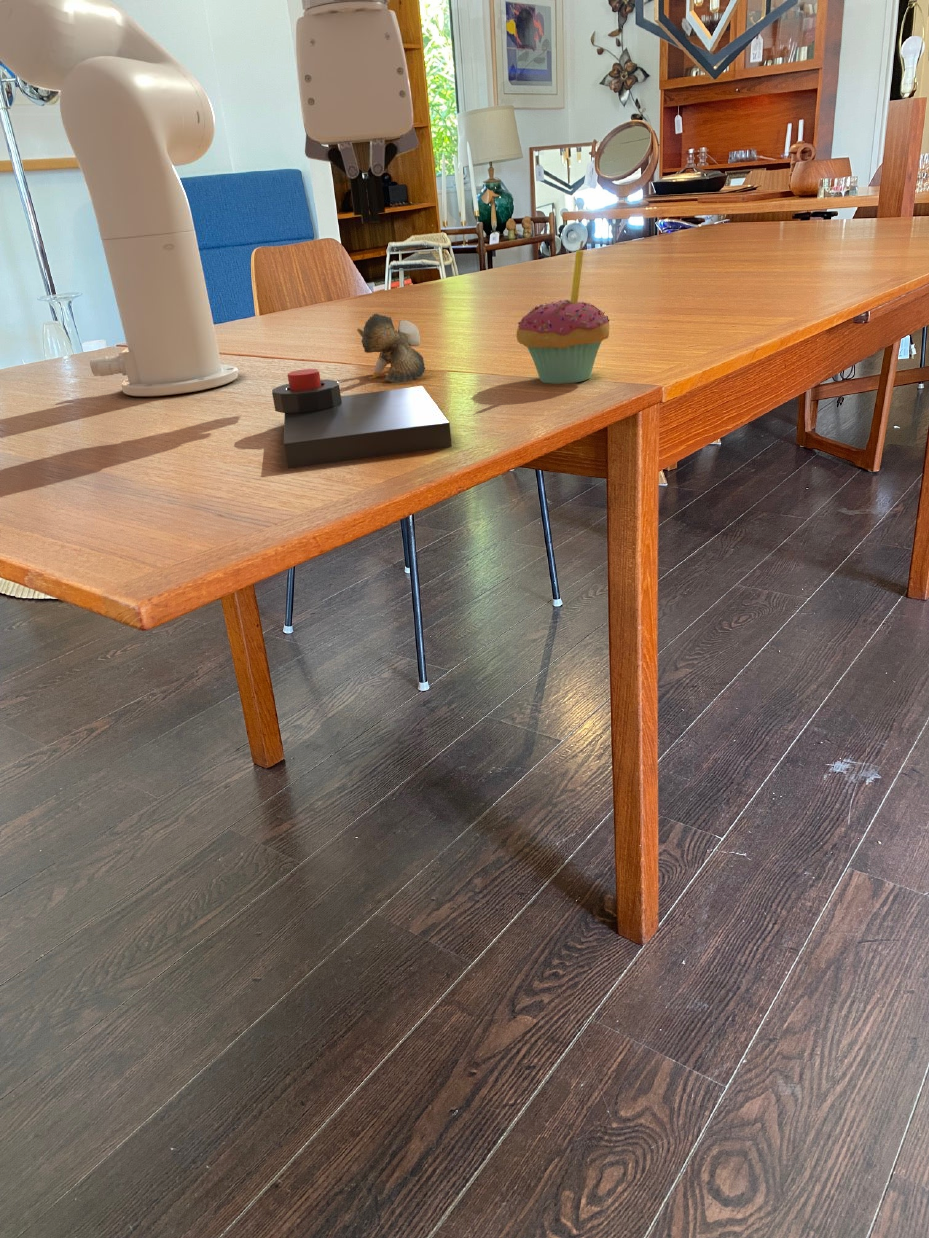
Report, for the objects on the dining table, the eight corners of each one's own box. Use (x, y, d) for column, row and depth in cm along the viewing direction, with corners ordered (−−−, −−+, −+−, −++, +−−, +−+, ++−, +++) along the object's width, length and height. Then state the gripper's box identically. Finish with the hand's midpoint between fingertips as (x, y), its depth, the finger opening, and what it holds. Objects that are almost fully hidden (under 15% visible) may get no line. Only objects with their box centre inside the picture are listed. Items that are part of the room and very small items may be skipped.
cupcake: (608, 367, 89) (605, 235, 84) (612, 385, 81) (610, 241, 76) (521, 374, 90) (513, 244, 85) (517, 392, 82) (508, 250, 77)
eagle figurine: (342, 364, 98) (346, 360, 89) (369, 302, 97) (376, 292, 88) (405, 395, 100) (416, 395, 91) (432, 335, 99) (446, 329, 90)
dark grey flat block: (277, 471, 65) (268, 422, 63) (279, 425, 79) (272, 384, 77) (452, 448, 66) (447, 400, 65) (424, 407, 80) (420, 366, 79)
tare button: (290, 396, 74) (287, 376, 73) (290, 390, 76) (287, 371, 75) (322, 392, 74) (319, 372, 73) (321, 386, 76) (318, 367, 76)
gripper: (423, 1, 84) (441, 215, 92) (261, 12, 83) (294, 229, 91) (432, -17, 78) (451, 216, 85) (256, -4, 76) (292, 231, 84)
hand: (370, 222), depth 88 cm, fingers closed
